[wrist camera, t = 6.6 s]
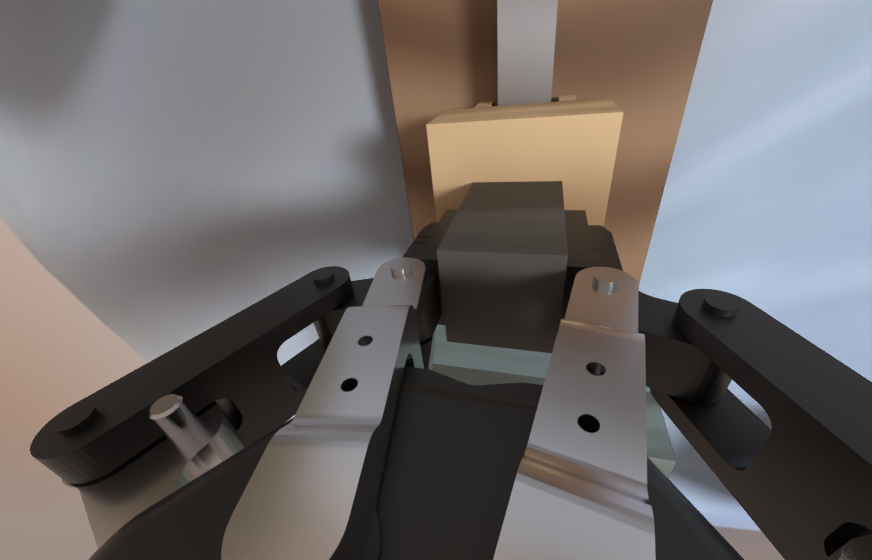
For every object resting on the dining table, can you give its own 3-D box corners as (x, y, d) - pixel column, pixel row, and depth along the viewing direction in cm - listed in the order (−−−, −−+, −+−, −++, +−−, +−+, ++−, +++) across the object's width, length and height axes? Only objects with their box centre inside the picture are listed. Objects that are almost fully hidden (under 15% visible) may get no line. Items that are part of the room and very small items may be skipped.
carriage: (455, 103, 15) (362, 169, 8) (604, 92, 14) (670, 160, 6) (464, 245, 19) (408, 380, 12) (582, 249, 18) (605, 410, 10)
